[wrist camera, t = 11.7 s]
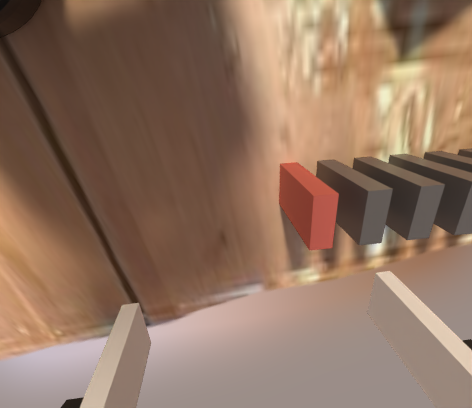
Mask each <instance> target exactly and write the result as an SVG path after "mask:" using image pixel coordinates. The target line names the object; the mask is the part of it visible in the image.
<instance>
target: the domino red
mask: <svg viewBox="0 0 472 408" xmlns="http://www.w3.org/2000/svg"><path fill="white" fill-rule="evenodd" d="M338 197H339V194H338V193H337V192H336V191H334V190H333V189H332V188H330V187H329V186H328V185H326V184H325V183H324V182H322V181H321V180H320V179H318V178H317V177H316V176H314V175H313V174H312V173H310V172H309V171H308V170H306V169H305V168H304V167H303V166H301V165H300V164H299V163H284V164H280V193H279V204H280V206H281V207H282V209H283V210H284V212H285V213H286V215H287V216H288V218H289V220H290V221H291V223H292V224H293V226H294V227H295V229H296V230H297V232H298V233H299V235H300V237H301V238H302V240H303V241H304V243H305V244H306V246H307V247H308V249H309V250H318V249H328V248H332V245H333V237H334V229H335V221H336V213H337V205H338Z"/></svg>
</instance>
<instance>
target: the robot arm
mask: <svg viewBox="0 0 472 408" xmlns="http://www.w3.org/2000/svg"><path fill="white" fill-rule="evenodd" d="M40 2H41V0H0V37H1V36H4V35H7V34H9V33H11V32H13V31H15V30H17V29H18V28H20V27H21V26H22V25H24V24H25V23H26V22H27V21H28V20H29V19H30V18H31V16H32V15H33V14H34V13H35V11H36V10H37V8H38V6H39V4H40ZM367 314H368V315H369V316H370V318H371V319H372V320H373V322H374V323H375V325H376V326H377V327H378V329H379V330H380V331H381V333H382V334H383V336H384V337H385V338H386V340H387V341H388V342H389V344H390V345H391V346H392V348H393V349H394V351H395V352H396V353H397V355H398V356H399V358H400V359H401V360H402V362H403V363H404V364H405V366H406V367H407V368H408V370H409V371H410V372H411V374H412V376H413V377H414V378H415V380H416V381H417V382H418V384H419V385H420V387H421V388H422V389H423V391H424V392H425V393H426V395H427V396H428V398H429V399H430V400H431V402H432V403H433V404H434V406H435V407H436V408H472V340H471V339H470V340H463V341H462V340H461V339H460V338H459V337H458V336H456V334H454V332H452V331H451V330H450V329H449V328H448V327H447V326H446V325H445V324H444V323H443V322H442V321H441V320H440V319H439V318H438V317H437V316H436V315H435V314H434V313H433V312H432V311H431V310H430V309H429V308H428V307H427V306H426V305H425V304H423V302H422V301H420V299H418V298H417V297H416V296H415V295H414V294H413V293H412V292H411V291H410V290H409V289H408V288H407V287H406V286H405V285H404V284H403V283H402V282H401V281H400V280H399V279H398V278H397V277H396V276H395V275H394V274H393V273H391V271H387V272H379V273H376V274H375V278H374V283H373V288H372V293H371V298H370V302H369V307H368V313H367ZM150 345H151V341H150V337H149V334H148V331H147V328H146V324H145V321H144V318H143V315H142V311H141V308H140V305H139V303H133V304H125V305H122V306H121V309H120V311H119V314H118V316H117V318H116V321H115V323H114V326H113V328H112V331H111V333H110V335H109V338H108V340H107V343H106V345H105V348H104V350H103V352H102V355H101V357H100V360H99V362H98V365H97V367H96V369H95V372H94V374H93V377H92V379H91V381H90V384H89V386H88V389H87V391H86V394H85V396H84V397H83V398H77V399H70V400H66V402H65V403H64V404H63V405H62V407H61V408H136V406H137V401H138V397H139V393H140V388H141V384H142V380H143V375H144V371H145V367H146V363H147V358H148V354H149V350H150Z"/></svg>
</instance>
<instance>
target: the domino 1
mask: <svg viewBox="0 0 472 408" xmlns="http://www.w3.org/2000/svg"><path fill="white" fill-rule="evenodd" d="M316 177H317V178H318V179H320V180H321V181H322V182H324V183H325V184H326V185H328V186H329V187H330V188H332V189H333V190H334V191H336V192H337V193H338V194H339V197H338V205H337V213H336V221H335V222H336V223H337V224H338V225H339V226H340V227H341V228H342V229H343V230H344V231H345V232H346V233H347V234H348V235H349V236H350V237H351V238H352V239H353V240H354V241H355V242H356V243H357V244H358V245H366V244H376V243H381V242H382V237H383V233H384V228H385V223H386V219H387V214H388V209H389V205H390V200H391V195H392V191H393V189H392V188H390V187H388V186H386V185H384V184H382V183H380V182H378V181H376V180H374V179H372V178H370V177H368V176H366V175H364V174H362V173H360V172H358V171H356V170H354V169H352V168H350V167H348V166H346V165H344V164H342V163H340V162H338V161H336V160H323V161H317V174H316Z"/></svg>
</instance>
